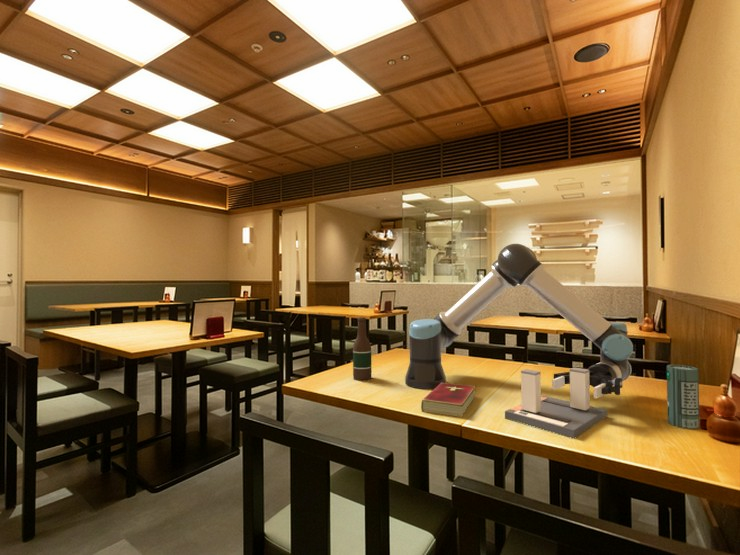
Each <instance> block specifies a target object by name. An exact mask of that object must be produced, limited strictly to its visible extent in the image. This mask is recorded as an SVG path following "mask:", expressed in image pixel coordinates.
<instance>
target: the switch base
mask: <svg viewBox="0 0 740 555" xmlns="http://www.w3.org/2000/svg"><path fill="white" fill-rule="evenodd" d="M541 375H542V374H541V371H539V370H534V369H529V368H526V369H523V370H521V371H520V377H521V378H520V385H521V386H520V388H521V389H520V392H521V393H520V394H521V403H520V404H518V405H516V406H514V407H510V408H508V409H507V410H505V411H504V419H505V418H508V419H507V420H509V419H512V420H515V421H519V422H522V423H525V424H524V425H526V424H528V425H527V426H529V425H531V426H530V427H532V426H535V427H534V428H536V427H538V428H537V429H539V428H541V429H540V430H543V429H544V430H543V431H546V430H547V432H549V431H551V432H550V433H553V432H555V433H554V434H556V433H558V434H557V435H560V434H561V436H563V435H564V437H567V438H570V437H571V439H573V438H574V439H576V438H577V437H579V436H580V435H582V434H583V433H585V432H587V431H588V430H590V429H591V428H592V427H594V426H595V425H597V424H598V423H600V422H602V421H603V420H604V419H606V418H607V417H608V415H607V414H608V413H607V412H608V410H607V409H604V408H600V407H597V406H592V405H590V408H589V409H587V410H581V409H577V408H573V407H570V400H565V399H562V398H561V399H559V398H555V397H552V396H548V395H543V394H542V393H541V392H542V390H541V389H542V388H541V387H542V386H541V385H542V382H541V379H542V378H541ZM512 420H511V421H512ZM515 421H514V422H515ZM519 422H518V423H519ZM522 423H521V424H522ZM578 435H579V436H578ZM575 437H576V438H575Z"/></svg>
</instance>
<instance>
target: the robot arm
mask: <svg viewBox="0 0 740 555" xmlns="http://www.w3.org/2000/svg"><path fill="white" fill-rule="evenodd" d="M490 269H491V270H490V271H489V272H488V273H486V275H485V276H484V277H483V278H482V279H480V280H479V281H478V282H477V283H476V284H475V285H474V286H473V287H472V288H470V290H469V291H468V292H466V293H465V294H464V295H462V297H461V298H460V299H459V300H458V301H456V302H455V303H454V304H453V305H452V306H451V307H450V308H449V309H448V310H446V311H440V312H439V313H438V314H436V315H435V317H433V318H423V319H422V318H421V319H416V320H413V321H412V322H411V323H410V324H409V330H408V333H409V334H408V335H409V364H408V368H407V371H406V374H405V377H404V378H405V379H404V380H405V381H404V382H405V385H407V386H408V387H411V388H416V389H423V390H424V389H427V390H428V389H433V390H434V389H435V388H436V387H437V386H438V385H439V384H440V383H447V377H446V374H445V370H444V367H443V364H442V350H443V349H446V348H448V347H450V346H451V345H452V344H453V343H454V341H455V340H456V338H458V337H459V336H461V335H462V328H463V327H464V326H466V325H468V323H470V321H472V320H473V319H474V318H475V317H476V316H477V315H478V314H479V313H480V312H481V311H483V310H484V309H485V308H486V307H487V306H488V305H489V304H491V303H492V302H493V301H494V300H495V299H496V298H497V297H498V296H500V295H501V294H502V293H503V292H504V291H505V290H506V289H508V288H515V287H516V286H518V285H519V286H521V287H526V288H528V289H529V290H530V291H532V292H533V293H534V294H535V295H537V297H539V298H540V299H541V300H542V301H543V302H545V303H546V304H547V305H548V306H549V307H550V308H552V309H553V310H554V311H555V312H556V313H557V314H559V315H560V316H561V317H563V319H565V320H566V321H567V322H568V323H569V324H571V325H572V326H573V327H574V328H575V329H577V330H578V331H579V332H580V333H581V334H582V335H583V336H585V337H586V338H587V339H588V340H590V341H591V342H592V343H593V344H594V345H595V346H596V347H597V348H599V349H600V352H599V353H600V362H598V363H595V364H592V365H590V366H589V367H588V368H587V369H588V370H589V382H590V387H593V399H599V398H601V397H603V396H604V395H610V394H611V395H612V393H614V395H615V396H620V395H621V389H622V388H623V382H624V381H625V380H627V379H628V378H629V377H630V376H631V375H632V365H631V363H630V362H629V360H628V358H629V359H630V357H631V356H632V354H633V351H634V343H633V342H632V340H631V339H630V338H629V337H628V333H629V331H628V326H627V324H626V323H624V322H619V321H618V322H617V321H608V320H607V319H605V318H604V317H603V316H602V315H601V314H599V312H597V311H595V309H593V307H590V306H589V305H588V304H587V303H585V302H584V301H583V300H582V299H581V298H580V297H578V296H577V295H576V294H575V293H573V292H572V291H571V290H570V289H569V288H567V287H566V286H565V285H564V284H562V283H561V282H560V281H559V280H557V279H556V278H555V277H554V276H552V274H550V273H549V272H547V271H546V270H545V269H544V264H543V263H542V262H540V261H539V260H538V257H537V256H536V253H535V252H534V251H533V250H532V249H531V248H530V247H528V246H526V245H524V244H520V243H510V244H507V245H505V247H503V248H501V250H500V252H499V253H498V255H497V259H496V260H495V261H494V262H492V264H491V268H490ZM565 385H570V371H563V372H557V373H553V379H551V389H552V391H553V390H558V389H560V388H563V387H564V386H565Z"/></svg>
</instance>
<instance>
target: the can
mask: <svg viewBox="0 0 740 555" xmlns="http://www.w3.org/2000/svg"><path fill="white" fill-rule="evenodd" d="M699 378H700V377H699V368H697V367H694V366H689V365H683V364H667V365H666V394H667V395H666V398H667V399H666V401H667V403H666V404H667V412H666V413H667V424H669V425H671V426H673V427H677V428H680V429H683V430H684V429H685V430H699V429H700V428H701V427H700V388H699V386H700V385H699V384H700V383H699V382H700V381H699Z"/></svg>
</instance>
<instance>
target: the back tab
mask: <svg viewBox="0 0 740 555" xmlns="http://www.w3.org/2000/svg"><path fill="white" fill-rule="evenodd" d="M569 372H570V384H569V401H570V407H573V408H577V409H581V410H587V409H589V408H590V406H591V401H590V400H591V399H590V397H591V396H590V394H591V392H590V389H591V388H590V387H591V385H590V382H589V370H588V368H587V369H586V368H581V367H580V368H579V367H572V368H569Z"/></svg>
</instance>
